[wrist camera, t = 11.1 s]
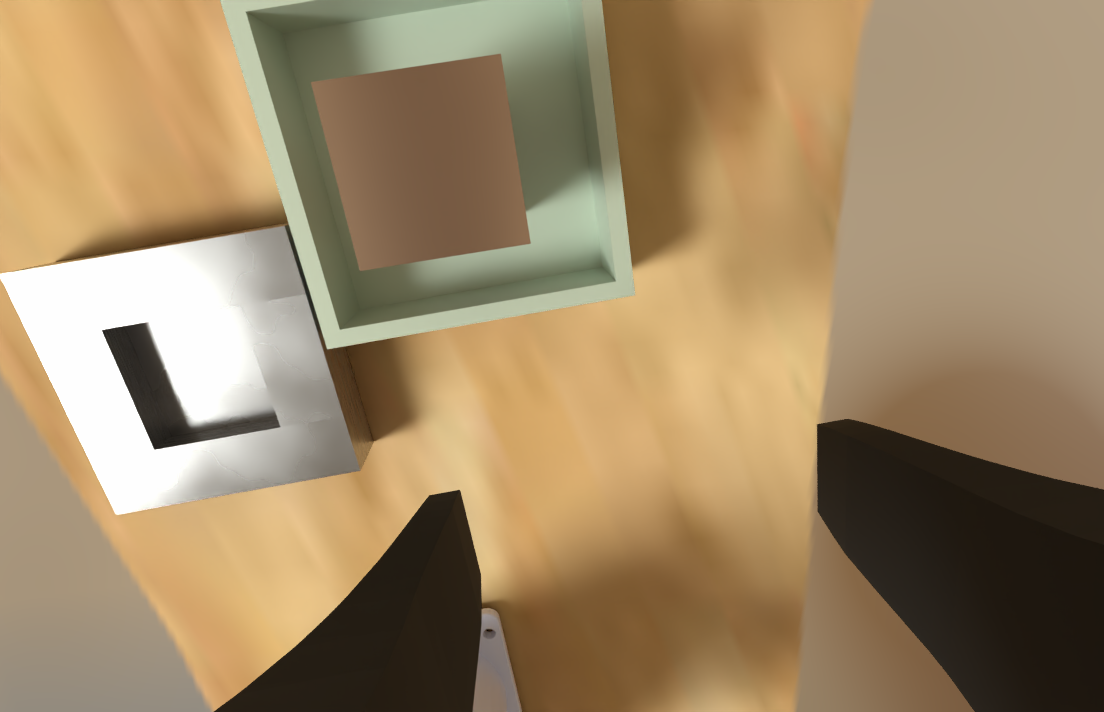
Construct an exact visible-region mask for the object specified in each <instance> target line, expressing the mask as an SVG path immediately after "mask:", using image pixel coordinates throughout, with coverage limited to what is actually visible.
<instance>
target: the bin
mask: <svg viewBox="0 0 1104 712" xmlns="http://www.w3.org/2000/svg"><path fill="white" fill-rule="evenodd" d="M220 1H221V5H222V8H223V11H224V15H225V18H226V21H227V24H228V28H229V31H230V34H231V37H232V41H233V44H234V47H235V50H236V54H237V57H238V60H239V63H240V67H241V70H242V73H243V76H244V80H245V83H246V86H247V89H248V93H249V96H250V99H251V102H252V106H253V109H254V112H255V115H256V119H257V122H258V125H259V129H260V132H261V135H262V138H263V142H264V145H265V148H266V151H267V155H268V158H269V161H270V164H271V168H272V171H273V174H274V177H275V181H276V184H277V187H278V190H279V194H280V197H281V200H282V203H283V207H284V210H285V213H286V216H287V220H288V223H289V226H290V229H291V233H292V236H293V239H294V243H295V246H296V249H297V252H298V256H299V259H300V262H301V265H302V269H303V272H304V275H305V278H306V282H307V285H308V288H309V291H310V295H311V298H312V301H313V304H314V308H315V311H316V314H317V317H318V321H319V324H320V327H321V330H322V334H323V337H324V340H325V343H326V347H327V349H332V348H338V347H344V346H349V345H355V344H361V343H367V342H372V341H378V340H384V339H389V338H395V337H401V336H406V335H412V334H418V333H423V332H429V331H435V330H440V329H446V328H452V327H457V326H463V325H469V324H474V323H480V322H486V321H491V320H497V319H503V318H508V317H514V316H520V315H526V314H531V313H537V312H543V311H548V310H554V309H560V308H565V307H571V306H577V305H582V304H588V303H594V302H599V301H605V300H611V299H616V298H622V297H628V296H633V295H635V289H634V281H633V272H632V263H631V254H630V245H629V236H628V228H627V219H626V210H625V201H624V192H623V184H622V175H621V166H620V157H619V148H618V139H617V131H616V122H615V113H614V104H613V95H612V87H611V78H610V69H609V60H608V51H607V42H606V34H605V25H604V16H603V7H602V0H220ZM495 54H501V58H502V64H503V71H504V77H505V83H506V90H507V96H508V102H509V109H510V115H511V121H512V128H513V134H514V140H515V147H516V153H517V159H518V166H519V172H520V178H521V185H522V191H523V197H524V204H525V210H526V216H527V223H528V229H529V235H530V241H531V244H526V245H520V246H514V247H507V248H501V249H495V250H489V251H482V252H476V253H470V254H464V255H457V256H451V257H445V258H439V259H433V260H426V261H420V262H414V263H408V264H401V265H395V266H389V267H383V268H376V269H370V270H364V271H360V270H359V266H358V262H357V258H356V254H355V250H354V247H353V243H352V239H351V235H350V231H349V227H348V224H347V220H346V216H345V212H344V208H343V204H342V201H341V197H340V193H339V189H338V185H337V181H336V178H335V174H334V170H333V166H332V162H331V158H330V155H329V151H328V147H327V143H326V139H325V135H324V132H323V128H322V124H321V120H320V116H319V112H318V109H317V105H316V101H315V97H314V93H313V89H312V85H311V82H315V81H322V80H328V79H335V78H342V77H348V76H355V75H362V74H368V73H375V72H382V71H388V70H395V69H402V68H408V67H415V66H422V65H428V64H435V63H442V62H448V61H455V60H462V59H468V58H475V57H482V56H488V55H495Z"/></svg>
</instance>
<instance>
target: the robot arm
mask: <svg viewBox="0 0 1104 712" xmlns="http://www.w3.org/2000/svg"><path fill="white" fill-rule="evenodd" d="M817 474H818V513H819V514H820V516H821V517H822V519H823V521H824V522H825V524H826V525H827V527H828V529H829V530H830V532H831V533H832V535H833V536H834V538H835V539H836V541H837V542H838V544H839V545H840V546H841V548H842V550H843V551H844V553H845V554H846V555H847V556H848V558H849V559H850V560H851V561H852V562H853V564H854V565H855V566H856V567H857V568H858V570H859V571H860V572H861V573H862V574H863V575H864V576H865V578H866V579H867V580H868V581H869V582H870V583H871V585H872V586H873V587H874V588H875V589H876V591H877V592H878V593H879V594H880V595H881V596H882V597H883V599H884V600H885V601H886V602H887V603H888V604H889V605H890V606H891V608H892V609H893V610H894V611H895V612H896V613H897V614H898V616H899V617H900V618H901V619H902V620H903V621H904V622H905V624H906V625H907V626H908V627H909V628H910V630H911V631H912V632H913V633H914V634H915V635H916V636H917V638H918V639H919V640H920V641H921V642H922V643H923V645H924V646H925V647H926V648H927V649H928V650H929V651H930V653H931V654H932V655H933V656H934V658H935V659H936V660H937V661H938V663H939V664H940V665H941V666H942V667H943V669H944V670H945V671H946V672H947V674H948V675H949V676H950V678H951V679H952V681H953V682H954V683H955V685H956V686H957V688H958V689H959V690H960V692H961V693H962V694H963V696H964V697H965V699H966V700H967V701H968V703H969V704H970V706H971V707H972V708H973V710H974V711H975V712H1104V490H1103V489H1098V488H1093V487H1089V486H1085V485H1080V484H1075V483H1070V482H1066V481H1062V480H1057V479H1053V478H1049V477H1045V476H1041V475H1037V474H1033V473H1029V472H1026V471H1022V470H1018V469H1015V468H1011V467H1007V466H1004V465H1000V464H997V463H993V462H989V461H986V460H983V459H979V458H976V457H972V456H969V455H966V454H963V453H959V452H956V451H953V450H950V449H947V448H944V447H940V446H937V445H934V444H931V443H928V442H925V441H922V440H919V439H915V438H912V437H909V436H906V435H903V434H900V433H897V432H894V431H891V430H887V429H884V428H881V427H877V426H874V425H871V424H867V423H863V422H859V421H855V420H850V419H844V420H839V421H833V422H828V423H822V424H817ZM487 629H493V631H491V632H488V631H485V630H487ZM214 712H522V708H521V704H520V700H519V696H518V692H517V687H516V683H515V679H514V675H513V671H512V667H511V663H510V658H509V654H508V650H507V646H506V642H505V638H504V633H503V629H502V625H501V621H500V617H499V614H498V612H497V611H495V610H494V609H491V608H484V609H482V600H481V573H480V569H479V565H478V561H477V557H476V553H475V549H474V545H473V541H472V537H471V532H470V528H469V524H468V520H467V516H466V512H465V508H464V504H463V500H462V496H461V492H460V490H457V491H451V492H446V493H440V494H435V495H429V497H428V498H427V499H426V500H425V502H424V503H423V504H422V505H421V507H420V508H419V509H418V511H417V512H416V513H415V515H414V516H413V517H412V519H411V520H410V521H409V523H408V524H407V525H406V526H405V528H404V529H403V530H402V532H401V533H400V534H399V536H398V537H397V538H396V539H395V541H394V542H393V543H392V545H391V546H390V547H389V548H388V550H387V551H386V552H385V553H384V555H383V556H382V557H381V558H380V560H379V561H378V562H377V563H376V564H375V565H374V566H373V568H372V569H371V570H370V571H369V572H368V573H367V574H366V576H365V577H364V578H363V579H362V580H361V581H360V582H359V583H358V585H357V586H356V587H355V588H354V589H353V590H352V591H351V593H350V594H349V595H348V596H347V597H346V598H345V599H344V600H343V601H342V602H341V603H340V604H339V605H338V606H337V607H336V608H335V609H334V610H333V611H332V612H331V613H330V614H329V615H328V616H327V617H326V618H325V619H324V620H323V621H322V622H321V623H320V624H319V625H318V626H317V627H316V628H315V629H314V630H313V631H312V632H311V633H310V634H309V635H307V636H306V637H305V638H304V639H303V640H302V641H301V642H300V643H299V644H298V645H297V646H295V647H294V648H293V649H292V650H291V651H290V652H288V653H287V654H286V655H285V656H283V657H282V658H281V659H280V660H279V661H277V662H276V663H275V664H274V665H273V666H271V667H270V668H269V669H268V670H267V671H265V672H264V673H263V674H262V675H261V676H259V677H258V678H257V679H256V680H255V681H253V682H252V683H251V684H250V685H248V686H247V687H246V688H245V689H243V690H242V691H241V692H240V693H238V694H237V695H236V696H234V697H233V698H232V699H230V700H229V701H228V702H226V703H225V704H224V705H222V706H221V707H220V708H218V709H217V710H215V711H214Z"/></svg>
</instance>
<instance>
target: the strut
mask: <svg viewBox="0 0 1104 712" xmlns="http://www.w3.org/2000/svg"><path fill="white" fill-rule="evenodd" d="M311 85H312V89H313V93H314V97H315V101H316V105H317V109H318V112H319V116H320V120H321V124H322V128H323V132H324V135H325V139H326V143H327V147H328V151H329V155H330V158H331V162H332V166H333V170H334V174H335V178H336V181H337V185H338V189H339V193H340V197H341V201H342V204H343V208H344V212H345V216H346V220H347V224H348V227H349V231H350V235H351V239H352V243H353V247H354V250H355V254H356V258H357V262H358V266H359V270H360V271H364V270H370V269H376V268H383V267H389V266H395V265H401V264H408V263H414V262H420V261H426V260H433V259H439V258H445V257H451V256H457V255H464V254H470V253H476V252H482V251H489V250H495V249H501V248H507V247H514V246H520V245H526V244H531V241H530V235H529V229H528V223H527V216H526V210H525V204H524V197H523V191H522V185H521V178H520V172H519V166H518V159H517V153H516V147H515V140H514V134H513V128H512V121H511V115H510V109H509V102H508V96H507V90H506V83H505V77H504V71H503V64H502V58H501V54H495V55H488V56H482V57H475V58H468V59H462V60H455V61H448V62H442V63H435V64H428V65H422V66H415V67H408V68H402V69H395V70H388V71H382V72H375V73H368V74H362V75H355V76H348V77H342V78H335V79H328V80H322V81H315V82H311Z"/></svg>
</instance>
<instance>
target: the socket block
mask: <svg viewBox="0 0 1104 712" xmlns="http://www.w3.org/2000/svg"><path fill="white" fill-rule="evenodd" d="M0 277H1V279H2V281H3V283H4V285H5V287H6V289H7V291H8V293H9V296H10V298H11V300H12V302H13V304H14V306H15V308H16V310H17V312H18V314H19V316H20V318H21V320H22V322H23V324H24V326H25V328H26V330H27V332H28V335H29V337H30V339H31V341H32V343H33V345H34V347H35V349H36V351H37V353H38V355H39V357H40V359H41V361H42V363H43V365H44V367H45V369H46V372H47V374H48V376H49V378H50V380H51V382H52V384H53V386H54V388H55V390H56V392H57V394H58V396H59V398H60V400H61V402H62V404H63V406H64V408H65V411H66V413H67V415H68V417H69V419H70V421H71V423H72V425H73V427H74V429H75V431H76V433H77V435H78V437H79V439H80V441H81V443H82V445H83V448H84V450H85V452H86V454H87V456H88V458H89V460H90V462H91V464H92V466H93V468H94V470H95V472H96V474H97V476H98V478H99V480H100V482H101V484H102V487H103V489H104V491H105V493H106V495H107V497H108V499H109V501H110V503H111V505H112V507H113V509H114V511H115V513H116V515H119V514H124V513H130V512H135V511H141V510H146V509H152V508H157V507H163V506H168V505H174V504H179V503H185V502H190V501H196V500H201V499H207V498H212V497H218V496H223V495H229V494H234V493H240V492H245V491H251V490H256V489H262V488H267V487H273V486H278V485H284V484H289V483H295V482H300V481H306V480H311V479H317V478H322V477H328V476H333V475H339V474H344V473H350V472H355V471H360V470H361V468H362V466H363V464H364V462H365V460H366V457H367V455H368V453H369V451H370V449H371V447H372V444H373V439H372V436H371V433H370V429H369V426H368V422H367V419H366V416H365V412H364V409H363V405H362V402H361V399H360V395H359V392H358V389H357V385H356V382H355V378H354V375H353V372H352V368H351V365H350V362H349V358H348V355H347V351H346V348H345V346H344V347H338V348H332V349H327V347H326V343H325V340H324V337H323V334H322V330H321V327H320V324H319V321H318V317H317V314H316V311H315V308H314V304H313V301H312V298H311V295H310V291H309V288H308V285H307V282H306V278H305V275H304V272H303V269H302V265H301V262H300V259H299V256H298V252H297V249H296V246H295V243H294V239H293V236H292V233H291V229H290V226H289V223H283V224H277V225H271V226H265V227H260V228H254V229H248V230H242V231H236V232H230V233H224V234H218V235H213V236H207V237H201V238H195V239H189V240H183V241H177V242H171V243H166V244H160V245H154V246H148V247H142V248H136V249H130V250H124V251H119V252H113V253H107V254H101V255H95V256H89V257H83V258H77V259H72V260H66V261H60V262H54V263H49V264H45V265H40V266H35V267H31V268H26V269H22V270H17V271H13V272H8V273H4V274H0Z"/></svg>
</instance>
